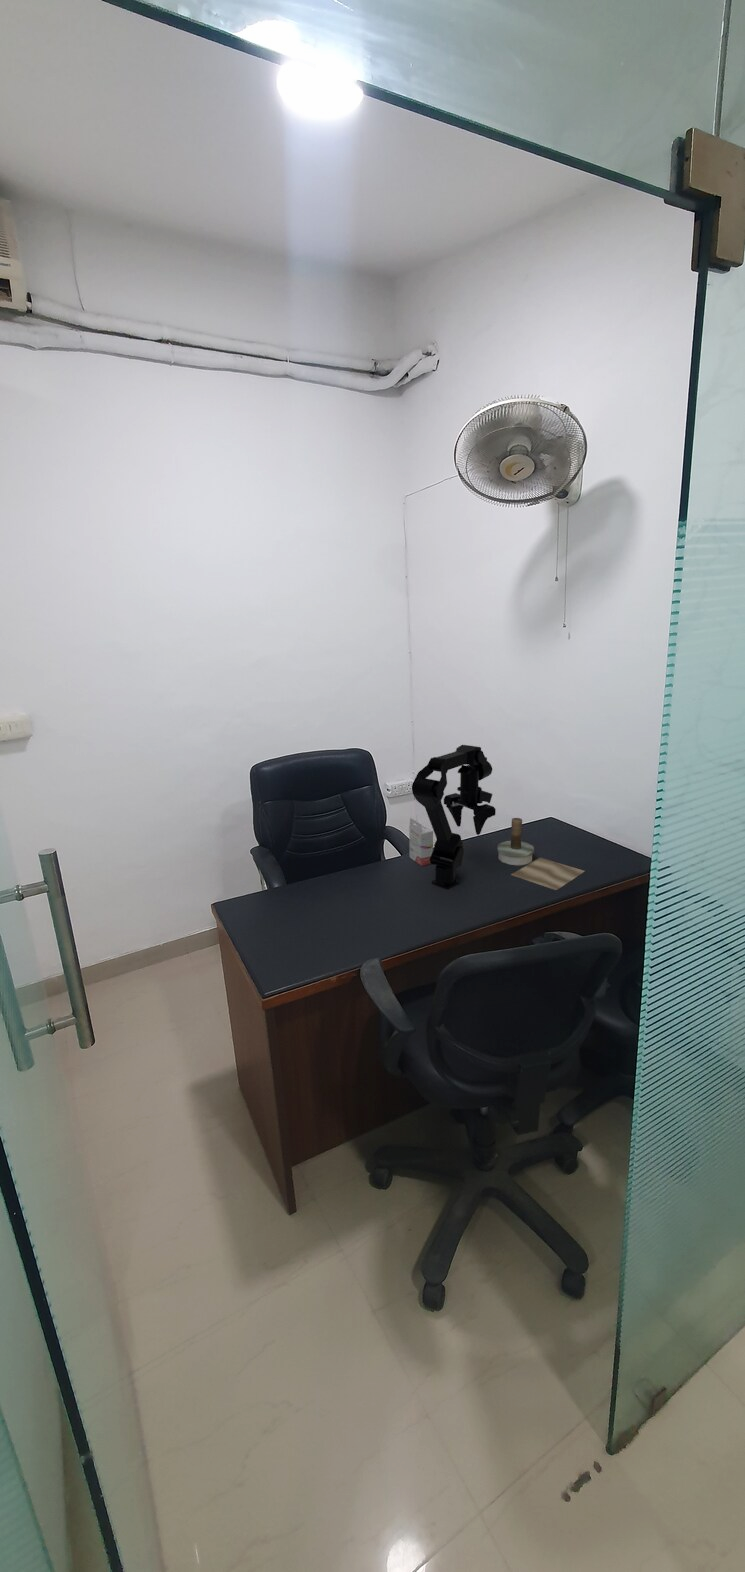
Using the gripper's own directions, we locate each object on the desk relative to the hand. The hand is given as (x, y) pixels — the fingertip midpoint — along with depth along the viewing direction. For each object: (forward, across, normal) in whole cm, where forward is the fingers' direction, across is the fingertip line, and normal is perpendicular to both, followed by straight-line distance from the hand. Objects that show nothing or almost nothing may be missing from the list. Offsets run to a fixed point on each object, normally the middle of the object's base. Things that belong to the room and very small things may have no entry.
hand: (468, 830), depth 196 cm
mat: (+13, -19, -17) cm, 29 cm away
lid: (+10, -5, -17) cm, 20 cm away
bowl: (+13, -5, -17) cm, 22 cm away
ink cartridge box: (+13, +14, +9) cm, 21 cm away
